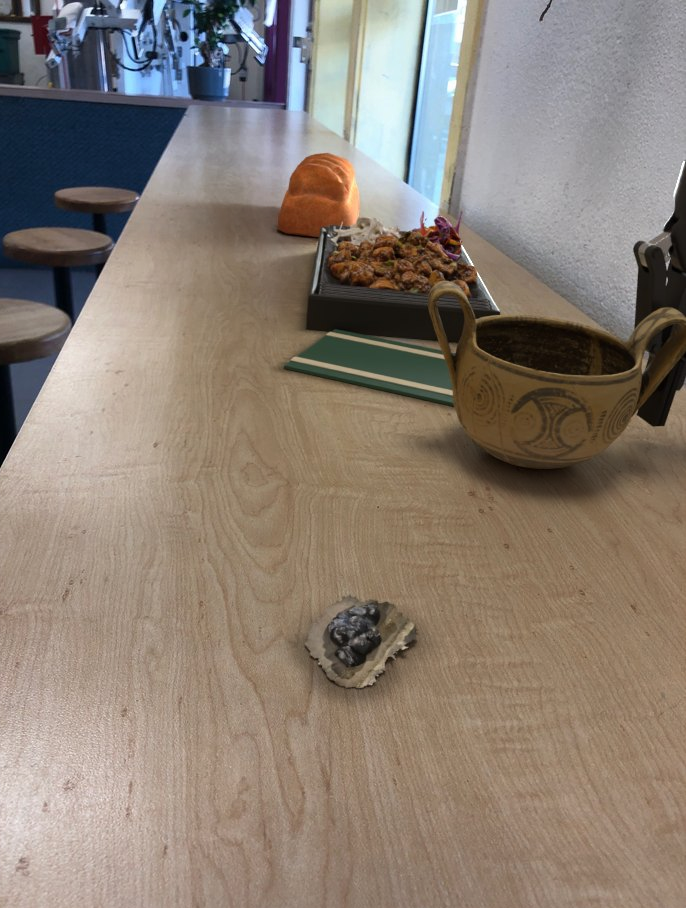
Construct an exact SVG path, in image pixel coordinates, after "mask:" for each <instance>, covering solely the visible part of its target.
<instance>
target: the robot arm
mask: <svg viewBox="0 0 686 908" xmlns="http://www.w3.org/2000/svg"><path fill="white" fill-rule="evenodd" d="M673 202H674V207H673V211H672V213H671V215H670V217H669V218H668V219H667V220H666V222H665V224H664V226H663V228H662V233H660V234H658V235H656V236H655V237H654V238H652V239H650V240H649V241H644V240H638V241H636V242H635V243H634V245H633V248H632V251H633V256H634V258H635V262H636V265H637V279H636V280H637V281H636V295H635V310H634V313H635V314H634V326H633V331H634V330H635V328H636V327H637V326H638V324H639V323H640V322H641V321H643V320H644V319H645V318H646V317H647V316H649V315H650V314H651V313H653V312H654V311H656V310H658V309H660V308H665V307H671V308H674V309H676V310H678V311H680V312H681V313H682V314H683V315H684V316H685V317H686V159H684V160H683V162H682V165H681V168H680V171H679V174H678V179H677V182H676V185H675V188H674V192H673ZM667 263H668V266H667ZM676 327H677V324H672V325H670V326H667V327H666V328H664V329H663V330H661V331H660V332H658V333H657V334H656V335H655V336H654V337H653V338H652V339H651V340H650V341H649V343H648V344H647V346H646V349H645V352H647V353H648V358H647V362H646V364H645V368H644V370H645V369H646V368H647V366H648V365H649V364H650V363H651V361H652V360H653V358H654V357H655V356H656V354H657V353H658V351H659V350H660V349H661V347H662V346H663V345H664V344H665V342H666V341H667V340H668V338H669V337H670V335H671V334H672V333H673V331H674V330H675V329H676ZM685 381H686V352H685V353H684V354H683V356H682V357H681V358H680V359H679V361H678V362H677V363H676V364H675V365H674V367H673V368H672V369H671V370H670V372H669V373H668V374H667V375H666V376H665V378H664V379H663V380H662V381H661V383H660V384H659V385H658V386H657V388H656V389H655V390H654V392H653V393H652V394H651V395H650V396H649V398H648V399H647V400H646V401H645V402H644V403H643V404H642V406H641V407H640V408H639V409H638V410H637V411H636V416H638V417H639V418H640V419H641V420H643V421H644V422H646V424H648V425H650V426H651V427H653V428H655V427H665V426H666V423H667V421H668V417H669V414H670V411H671V408H672V405H673V402H674V399H675V395H676V392H678V391H679V392H680V391H681V389H682V388H683V387H684V384H685V383H686V382H685Z"/></svg>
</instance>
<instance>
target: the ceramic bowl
mask: <svg viewBox="0 0 686 908" xmlns="http://www.w3.org/2000/svg"><path fill="white" fill-rule="evenodd" d="M446 294H448V295H453V296H454V297H455V298H456V299H457V300H458V301H459V303H460V305H461V307H462V309H463V312H464V318H465V321H464V327H463V332H462V336H461V338H460V341H459V343H457V345H456V349H455V352H454V353H455V355H452V353H453V352H452V349H451V346H450V344H449V343H450V342H448V340H447V337H446V334H445V332H444V329H443V325H442V322H441V319H440V316H439V312H438V308H437V300H438V299H439V298H440V297H441V296H444V295H446ZM428 308H429V313H430V316H431V319H432V322H433V326H434V329H435V332H436V334H437V338H438V341H437V342H438V344H439V347H440V350H441V351H442V353H443V356H444V358H445V361H446V364H447V367H448V370H449V374H450V379H451V383H452V390H453V404H454V406H453V407H454V410H455V413H456V416H457V419H458V422H459V423H460V425H461V427H462V428H463V430H464V431H465V432H466V434H467V435H468V437H469V438H470V439H471V440H472V442H473V443H475V444H476V445H477V446H478V447H479V448H481V449H482V450H484V451H485V452H486V453H487V454H489V455H490V456H492V457H494V458H496V459H497V460H499V461H502V462H505V463H507V464H508V465H512V466H516V467H521V468H527V469H535V470H549V469H550V470H552V469H562V468H567V467H571V466H574V465H578V464H580V463H583V462H586V461H588V460H590V459H592V458H594V457H595V456H598V455H599V454H600V453H603V451H605V450H606V449H607V448H609V446H610V445H612V444H613V442H614V441H616V440H617V439H618V438H619V437H620V436H621V435H622V434H623V432H624V431H625V430H626V429H627V427H628V426H629V423H630V421H631V420H632V418H633V417H634V415H635V414H637V412H638V409H639V408H640V407H641V406H642V404H643V403H644V402H645V401H646V400H647V399H648V398H649V396H650V395H651V394H652V393H653V392H654V390H655V389H656V388H657V386H658V385H659V384H660V383H661V381H662V380H663V379H664V378H665V376H666V375H667V374H668V373H669V372H670V370H671V369H672V368H673V367H674V365H675V364H676V363H677V362H678V361H679V359H680V358H681V357H682V356H683V354H684V353H685V352H686V317H685V316H684V315H683V314H682V313H681V312H680V311H678V310H676V309H674V308H671V307H665V308H660V309H658V310H656V311H654V312H653V313H651V314H650V315H649V316H647V317H646V318H645V319H644V320H643V321H641V322H640V323H639V324H638V326H637V327H636V328H635V330H634V329H633V331H632V333H631V335H630V336H629V338H628V339H627V341H625V340H624V339H622V338H621V337H618V336H616V335H614V334H613V333H610V332H607V331H604V330H602V329H599V328H596V327H593V326H591V325H587V324H584V323H580V322H575V321H570V320H567V319H566V320H565V319H561V318H554V317H548V316H541V315H534V314H533V315H532V314H514V313H513V314H511V313H510V314H508V313H507V314H500V315H494V316H487V317H481V318H479V319H475V315H474V312H473V310H472V307H471V305H470V303H469V301H468V299H467V296H466V295H465V293H464V291H463V290H462V289H461V288H460V287H459V286H458V285H456V284H454V283H453V282H449V281H440V282H438V283H436V284H435V285H434V286H433V287H432V288H431V290H430V292H429V295H428ZM672 324H677V327H676V329H675V330H674V331H673V333H672V334H671V335H670V337H669V338H668V340H667V341H666V342H665V344H664V345H663V346H662V347H661V349H660V350H659V351H658V353H657V354H656V356H655V357H654V358H653V360H652V361H651V363H650V364H649V365H648V366H647V368H646V367H645V368H646V369H645V368H644V370H642V367H643V366H642V365H643V359H644V356H645V352H646V351H645V349H646V346H647V344H648V343H649V341H650V340H651V339H652V338H653V337H654V336H655V335H656V334H657V333H658V332H660V331H661V330H663V329H664V328H666V327H667V326H670V325H672Z"/></svg>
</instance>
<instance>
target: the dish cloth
mask: <svg viewBox="0 0 686 908" xmlns="http://www.w3.org/2000/svg"><path fill="white" fill-rule="evenodd" d="M451 353H452V355H455V353H456V352H451ZM283 369H284V370H288V371H293V372H298V373H301V374H302V373H303V374H307V375H310V376H315V377H319V378H323V379H324V378H325V379H329V380H333V381H337V382H343V383H347V384H351V385H356V386H359V387H360V386H361V387H365V388H369V389H375V390H378V391H382V392H387V393H392V394H395V395H401V396H405V397H409V398H410V397H411V398H413V399H419V400H423V401H428V402H432V403H435V404H436V403H437V404H440V405H445V406H450V407H454V404H453V390H452V383H451V379H450V374H449V370H448V367H447V364H446V361H445V358H444V356H443V353H442V350H441V349H436V348H430V347H426V346H422V345H415V344H411V343H407V342H403V341H402V342H401V341H397V340H393V339H392V340H391V339H387V338H383V337H382V338H381V337H376V336H373V335H366V334H357V333H352V332H347V331H342V330H337V329H334V330H333V331H328V332H327V333H326V334H325V335H323V337H322V338H320V339H318V341H315V342H314V343H313V344H312V345H311V346H309V347H308V348H306V349H304V350H303V351H301V352H300V353H299V354H298V355H296V356H294V357H292V358H291V359H290V360H289V361H288V362H287V363H285V364H284V365H283Z"/></svg>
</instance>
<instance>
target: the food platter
mask: <svg viewBox="0 0 686 908" xmlns="http://www.w3.org/2000/svg"><path fill="white" fill-rule="evenodd" d="M462 215H463V209H462V210H461V211H460V214H459V216H458V217H459V218H458V221H457V223H456V225H455V226H453V225H452V224H451V223H450V221H449V220H448V219H447V218H446V217H444V216H441V215H440V214H438V215H437V216H436V217H435V218H434V219H433V222H434V225H429V226H428V227H427V226H425V225H426V224H425V222H424V221H427V219H428V218H427V217H426V218H425V211H424V210H422V211H421V216H420V218H419V224H420V226H419V228H413V229H411V230H408V231H406V230H401V229H400V228H399V226H398V225H395V226H392V227H389V228H388V227H386V226H385V223H382V222H381V221H380V220H377V218H375V217H368V216H365V217H364V216H362V217H358V219H357V220H356V224H354V225H350V224H349V226H342V224H343V222H342V224H341V225H329V226H328V227H321V228H320V234H319V237H318V240H317V245H316V246H317V247H316V251H315V258H314V264H313V270H312V274H311V281H310V287H309V292H308V297H307V298H308V299H307V312H306V324H305V330H309V331H323V332H331V331H333V330H334V329H337V330H342V331H347V332H352V333H357V334H362V335H367V336H378V337H388V338H389V337H390V338H400V339H401V338H402V339H413V340H424V341H437V342H439V341H438V338H437V334H436V332H435V329H434V326H433V322H432V319H431V316H430V313H429V308H428V295H429V292H430V290H431V288H432V287H433V286H434V285H435V284H436V283H438V282H440V281H449V282H453V283H454V284H456V285H458V286H459V287H460V288H461V289H462V290H463V291H464V293H465V295H466V296H467V299H468V301H469V303H470V305H471V307H472V310H473V312H474V315H475V319H479V318H481V317H487V316H494V315H501V311H500V309H499V307H498V306H497V303H496V302H495V301H494V298H493V297H492V295H491V293H490V292H489V290H488V288H487V286H486V284H485V283H484V281H483V280H482V278H481V276H480V274H479V273H478V268H477V267H476V266H475V265H474V264H473V262H472V260H471V259H470V256H469V255H468V253H467V252H466V249H465V248H464V246H463V245H462V243H463V241H462V238H461V237H460V234H459V233H460V232H459V231H460V225H461V219H462ZM437 308H438V312H439V316H440V319H441V322H442V325H443V329H444V332H445V334H446V337H447V340H448V343H457V344H458V343H459V341H460V338H461V336H462V332H463V327H464V321H465V318H464V312H463V309H462V307H461V305H460V303H459V301H458V300H457V299H456V298H455V297H454V296H453V295H448V294H446V295H444V296H441V297H440V298H439V299H438V300H437Z"/></svg>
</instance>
